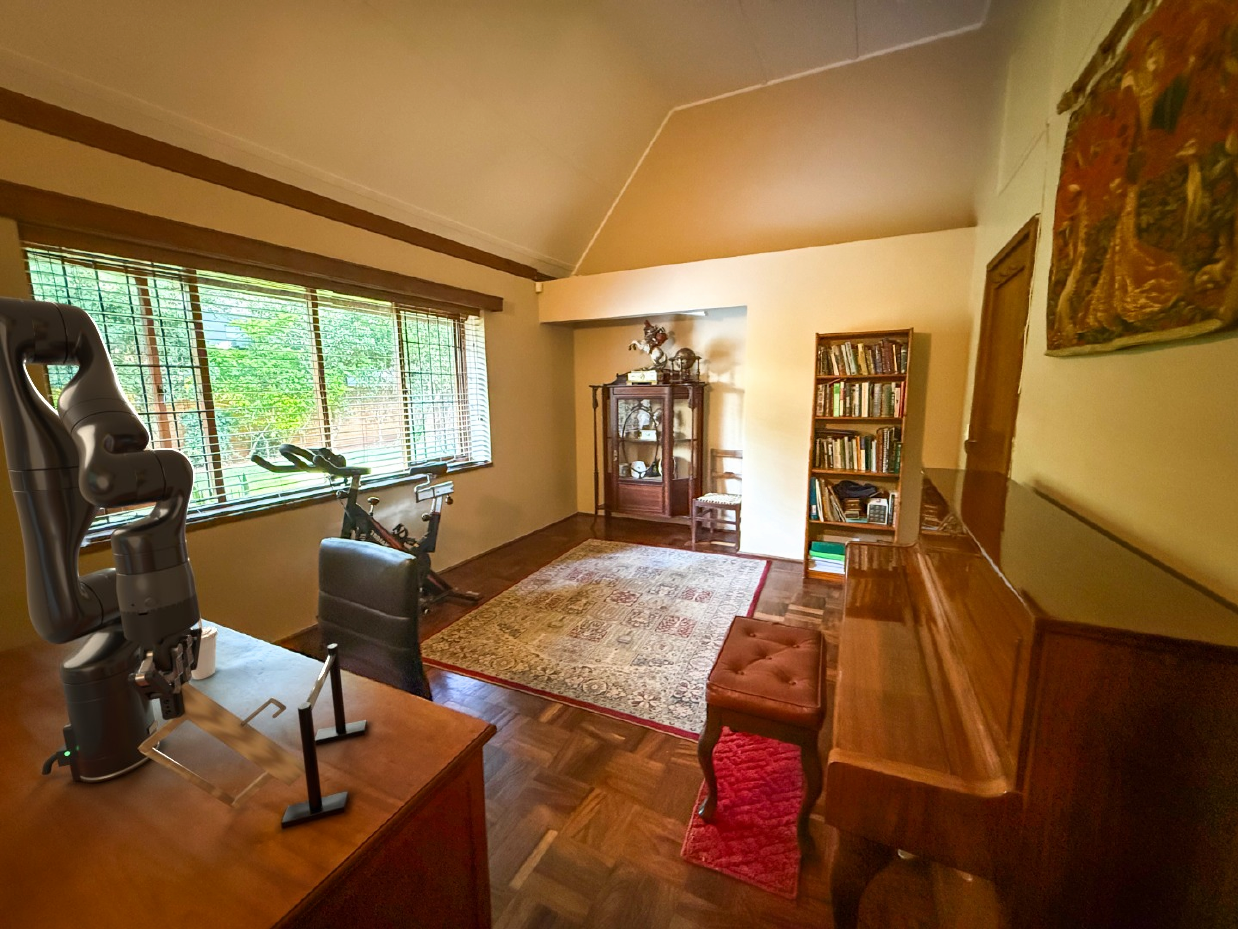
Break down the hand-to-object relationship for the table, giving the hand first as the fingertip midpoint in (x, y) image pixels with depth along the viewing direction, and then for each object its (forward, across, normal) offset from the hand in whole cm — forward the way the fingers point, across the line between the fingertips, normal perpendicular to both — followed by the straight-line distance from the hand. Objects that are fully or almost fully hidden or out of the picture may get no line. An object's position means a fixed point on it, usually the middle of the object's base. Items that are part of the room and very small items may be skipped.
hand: (178, 712), depth 66 cm
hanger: (+11, 0, 0) cm, 11 cm away
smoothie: (+17, -44, -16) cm, 50 cm away
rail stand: (+17, -4, +16) cm, 24 cm away
